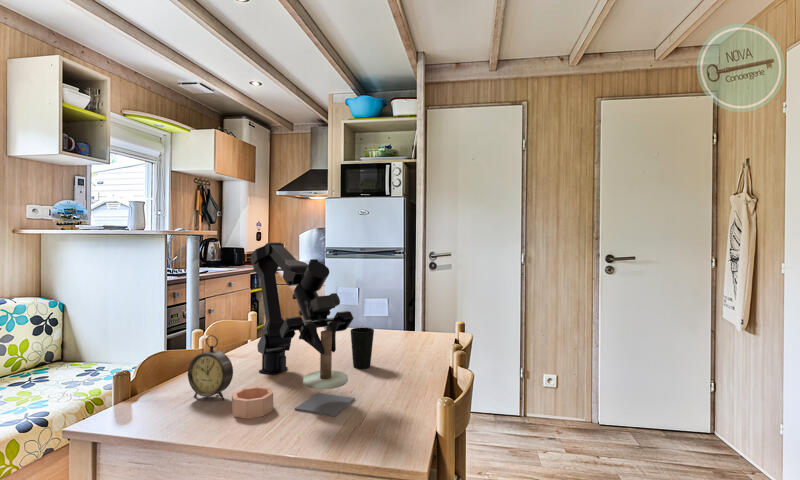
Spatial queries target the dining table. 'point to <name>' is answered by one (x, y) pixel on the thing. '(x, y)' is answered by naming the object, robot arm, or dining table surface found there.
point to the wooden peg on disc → (325, 368)
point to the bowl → (252, 402)
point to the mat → (325, 404)
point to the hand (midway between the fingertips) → (328, 352)
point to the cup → (362, 347)
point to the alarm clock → (210, 372)
